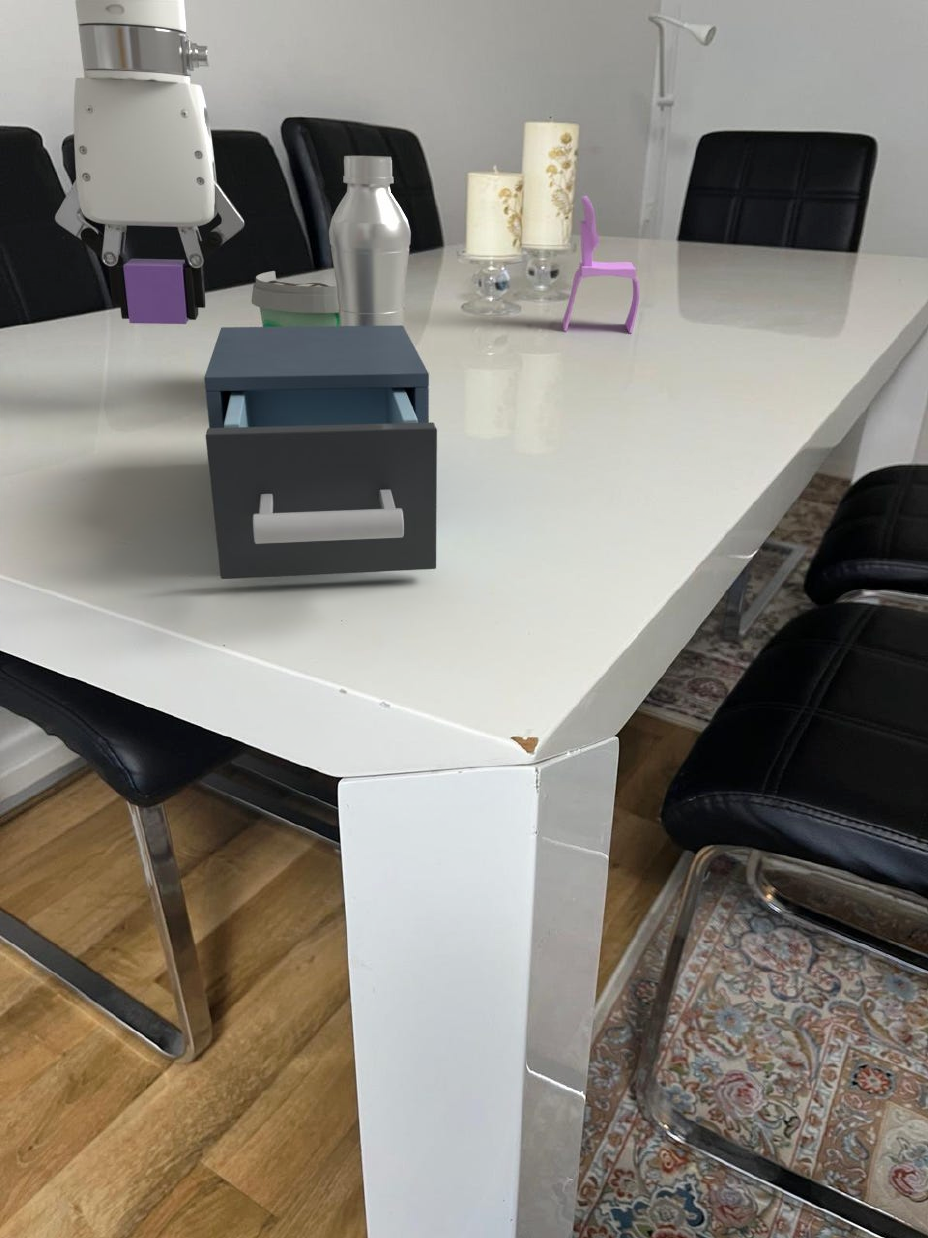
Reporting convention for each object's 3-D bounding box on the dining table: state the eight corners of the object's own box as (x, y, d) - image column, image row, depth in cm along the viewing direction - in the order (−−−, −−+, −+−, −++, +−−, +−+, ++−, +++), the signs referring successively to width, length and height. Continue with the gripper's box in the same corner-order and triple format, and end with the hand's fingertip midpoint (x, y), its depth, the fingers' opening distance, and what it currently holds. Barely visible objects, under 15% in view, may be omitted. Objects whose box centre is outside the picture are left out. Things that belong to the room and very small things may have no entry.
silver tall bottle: (321, 424, 79) (307, 156, 70) (356, 404, 85) (348, 154, 76) (392, 433, 78) (388, 158, 68) (424, 412, 83) (424, 156, 74)
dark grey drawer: (448, 608, 48) (450, 457, 44) (214, 620, 46) (196, 465, 43) (409, 485, 64) (408, 367, 60) (234, 492, 62) (222, 370, 59)
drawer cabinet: (428, 528, 60) (429, 373, 55) (220, 537, 58) (203, 377, 53) (404, 456, 72) (403, 325, 68) (233, 461, 71) (220, 327, 66)
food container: (230, 391, 88) (219, 277, 84) (277, 379, 93) (270, 270, 88) (330, 414, 82) (325, 292, 78) (376, 399, 87) (373, 283, 82)
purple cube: (186, 323, 77) (181, 266, 75) (129, 323, 77) (122, 264, 75) (191, 314, 81) (186, 259, 79) (137, 314, 81) (131, 258, 79)
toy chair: (637, 335, 116) (650, 199, 109) (564, 332, 116) (572, 197, 109) (630, 322, 123) (643, 194, 116) (562, 320, 124) (570, 192, 117)
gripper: (254, 69, 75) (266, 310, 84) (27, 56, 73) (62, 307, 81) (251, 62, 69) (264, 326, 77) (0, 48, 66) (42, 323, 74)
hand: (160, 314), depth 79 cm, fingers closed on purple cube, 4 cm apart
